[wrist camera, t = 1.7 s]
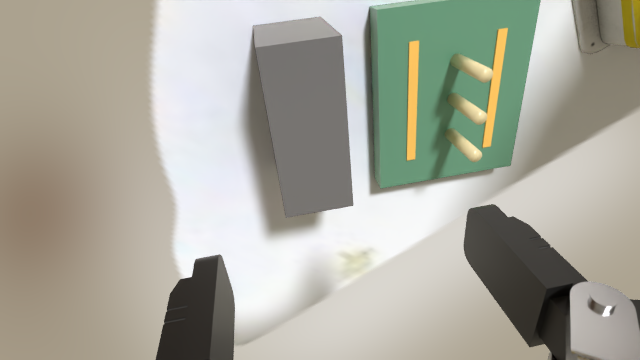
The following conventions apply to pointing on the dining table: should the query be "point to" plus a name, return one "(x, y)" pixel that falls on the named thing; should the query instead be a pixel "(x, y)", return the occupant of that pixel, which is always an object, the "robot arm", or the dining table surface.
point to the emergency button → (607, 23)
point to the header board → (447, 85)
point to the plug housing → (306, 112)
